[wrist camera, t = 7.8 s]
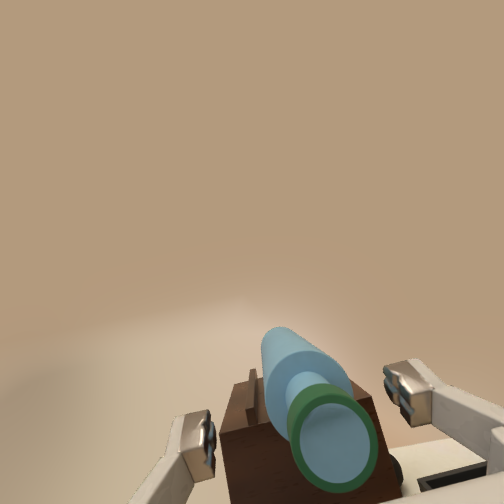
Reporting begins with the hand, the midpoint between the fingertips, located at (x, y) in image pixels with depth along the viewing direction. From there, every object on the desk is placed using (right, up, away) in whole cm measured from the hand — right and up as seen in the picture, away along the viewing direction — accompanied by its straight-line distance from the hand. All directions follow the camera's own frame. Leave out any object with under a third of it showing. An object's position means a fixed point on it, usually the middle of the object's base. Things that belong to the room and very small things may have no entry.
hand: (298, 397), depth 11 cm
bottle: (+1, -4, +6) cm, 7 cm away
